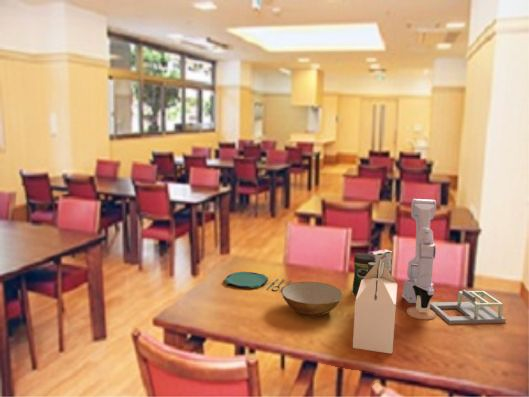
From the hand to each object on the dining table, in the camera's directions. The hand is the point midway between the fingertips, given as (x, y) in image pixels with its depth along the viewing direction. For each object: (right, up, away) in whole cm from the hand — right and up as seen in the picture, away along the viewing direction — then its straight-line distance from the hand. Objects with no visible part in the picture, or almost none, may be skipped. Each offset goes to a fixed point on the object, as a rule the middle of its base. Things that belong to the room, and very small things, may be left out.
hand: (421, 305), depth 196 cm
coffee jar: (-19, 0, +21) cm, 29 cm away
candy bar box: (-10, +2, +33) cm, 35 cm away
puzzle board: (+19, -4, +2) cm, 19 cm away
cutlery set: (-67, +3, +32) cm, 74 cm away
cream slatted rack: (+24, -2, +2) cm, 24 cm away
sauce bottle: (-20, -3, +3) cm, 21 cm away
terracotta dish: (0, -4, +1) cm, 4 cm away
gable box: (-24, -7, -21) cm, 32 cm away
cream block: (0, -2, 0) cm, 2 cm away
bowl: (-44, -3, +2) cm, 45 cm away
